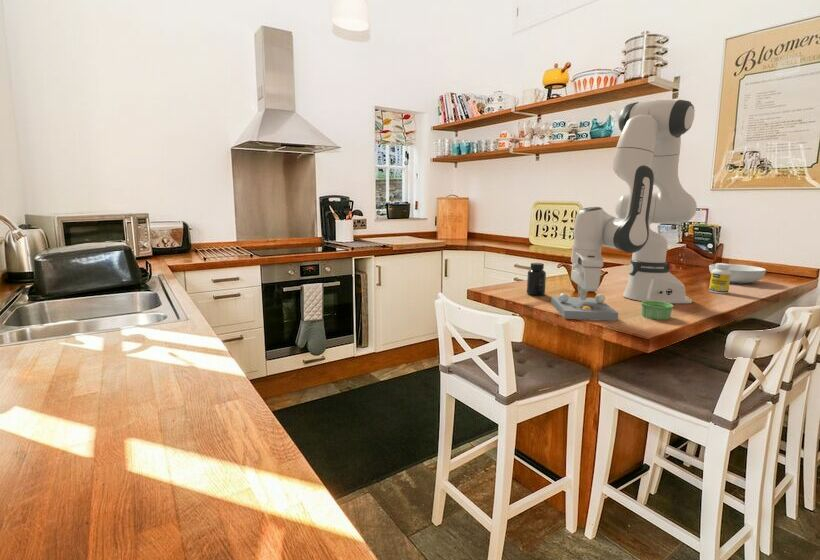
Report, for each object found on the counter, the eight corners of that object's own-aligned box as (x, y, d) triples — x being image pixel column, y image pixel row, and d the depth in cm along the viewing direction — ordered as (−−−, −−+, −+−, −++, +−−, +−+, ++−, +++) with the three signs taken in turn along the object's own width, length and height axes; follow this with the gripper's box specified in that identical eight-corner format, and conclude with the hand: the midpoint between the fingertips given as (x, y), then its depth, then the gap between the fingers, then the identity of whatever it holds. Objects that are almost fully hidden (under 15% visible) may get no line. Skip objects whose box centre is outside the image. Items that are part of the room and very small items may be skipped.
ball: (589, 310, 143) (590, 303, 141) (592, 317, 141) (593, 309, 139) (579, 312, 144) (580, 304, 142) (582, 318, 141) (582, 311, 139)
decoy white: (602, 302, 149) (603, 293, 149) (606, 304, 146) (606, 295, 146) (593, 301, 150) (593, 292, 149) (595, 304, 146) (596, 294, 146)
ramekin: (665, 314, 146) (666, 301, 145) (676, 321, 137) (678, 307, 136) (635, 312, 147) (637, 299, 146) (645, 320, 138) (646, 306, 137)
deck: (550, 303, 158) (551, 296, 157) (597, 304, 156) (598, 298, 155) (564, 318, 138) (564, 310, 138) (617, 320, 136) (618, 312, 136)
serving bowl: (712, 276, 217) (714, 262, 216) (766, 282, 203) (769, 267, 202) (702, 281, 203) (704, 266, 202) (759, 288, 188) (762, 272, 187)
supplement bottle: (542, 292, 175) (545, 262, 172) (546, 296, 168) (548, 265, 166) (525, 292, 175) (527, 262, 173) (527, 295, 169) (529, 264, 166)
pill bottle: (705, 291, 181) (709, 263, 179) (714, 290, 184) (718, 262, 182) (722, 294, 175) (726, 265, 173) (731, 293, 178) (736, 264, 176)
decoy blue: (566, 301, 150) (567, 292, 149) (569, 303, 146) (570, 294, 146) (557, 301, 150) (557, 292, 149) (559, 303, 147) (560, 294, 146)
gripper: (568, 253, 155) (564, 292, 157) (583, 261, 135) (579, 306, 137) (586, 253, 154) (583, 292, 157) (605, 262, 134) (601, 307, 137)
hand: (581, 299), depth 147 cm, fingers closed
